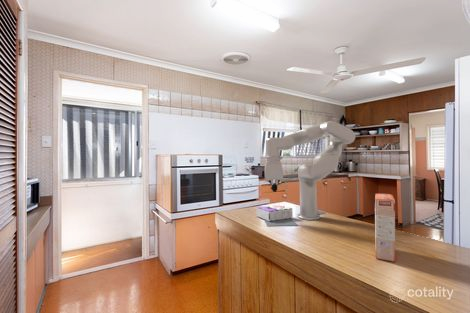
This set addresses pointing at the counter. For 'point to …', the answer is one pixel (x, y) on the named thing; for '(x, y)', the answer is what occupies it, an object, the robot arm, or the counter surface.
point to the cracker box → (385, 227)
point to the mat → (281, 222)
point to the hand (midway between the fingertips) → (274, 191)
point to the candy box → (274, 212)
